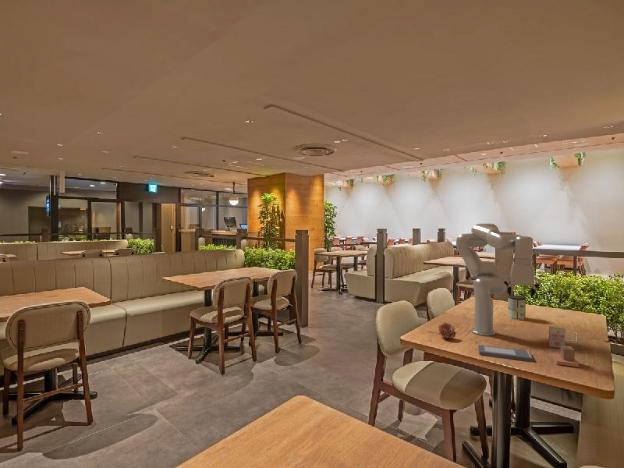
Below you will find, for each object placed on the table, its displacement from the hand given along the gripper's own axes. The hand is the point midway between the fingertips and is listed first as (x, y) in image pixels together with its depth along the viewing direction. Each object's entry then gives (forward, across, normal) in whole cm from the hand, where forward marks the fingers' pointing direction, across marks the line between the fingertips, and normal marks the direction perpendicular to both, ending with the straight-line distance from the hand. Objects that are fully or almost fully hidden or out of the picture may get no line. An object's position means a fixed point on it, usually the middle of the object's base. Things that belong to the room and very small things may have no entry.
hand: (520, 295), depth 178 cm
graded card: (+28, +29, +32) cm, 52 cm away
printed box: (+27, +19, +10) cm, 35 cm away
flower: (+28, -33, +3) cm, 43 cm away
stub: (+26, +17, -12) cm, 33 cm away
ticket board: (+27, -7, -12) cm, 30 cm away
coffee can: (+30, +9, +63) cm, 70 cm away
